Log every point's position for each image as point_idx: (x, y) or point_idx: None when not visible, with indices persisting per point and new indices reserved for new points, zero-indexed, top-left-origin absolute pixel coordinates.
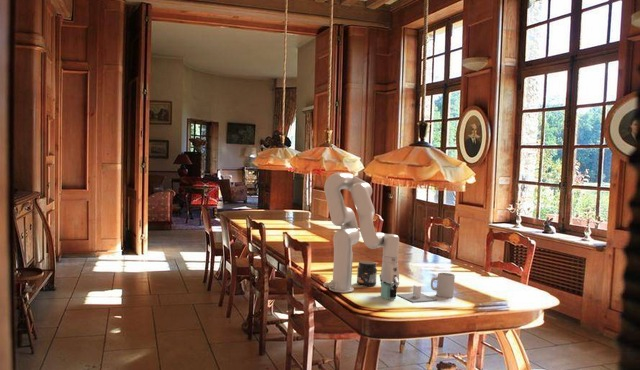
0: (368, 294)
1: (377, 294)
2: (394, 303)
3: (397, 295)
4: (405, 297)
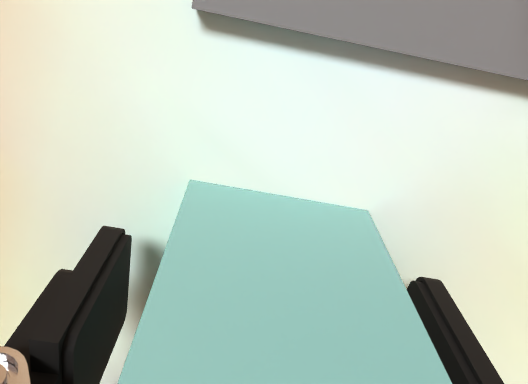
0: None
1: (40, 283)
2: (518, 365)
3: (222, 14)
4: (481, 30)
